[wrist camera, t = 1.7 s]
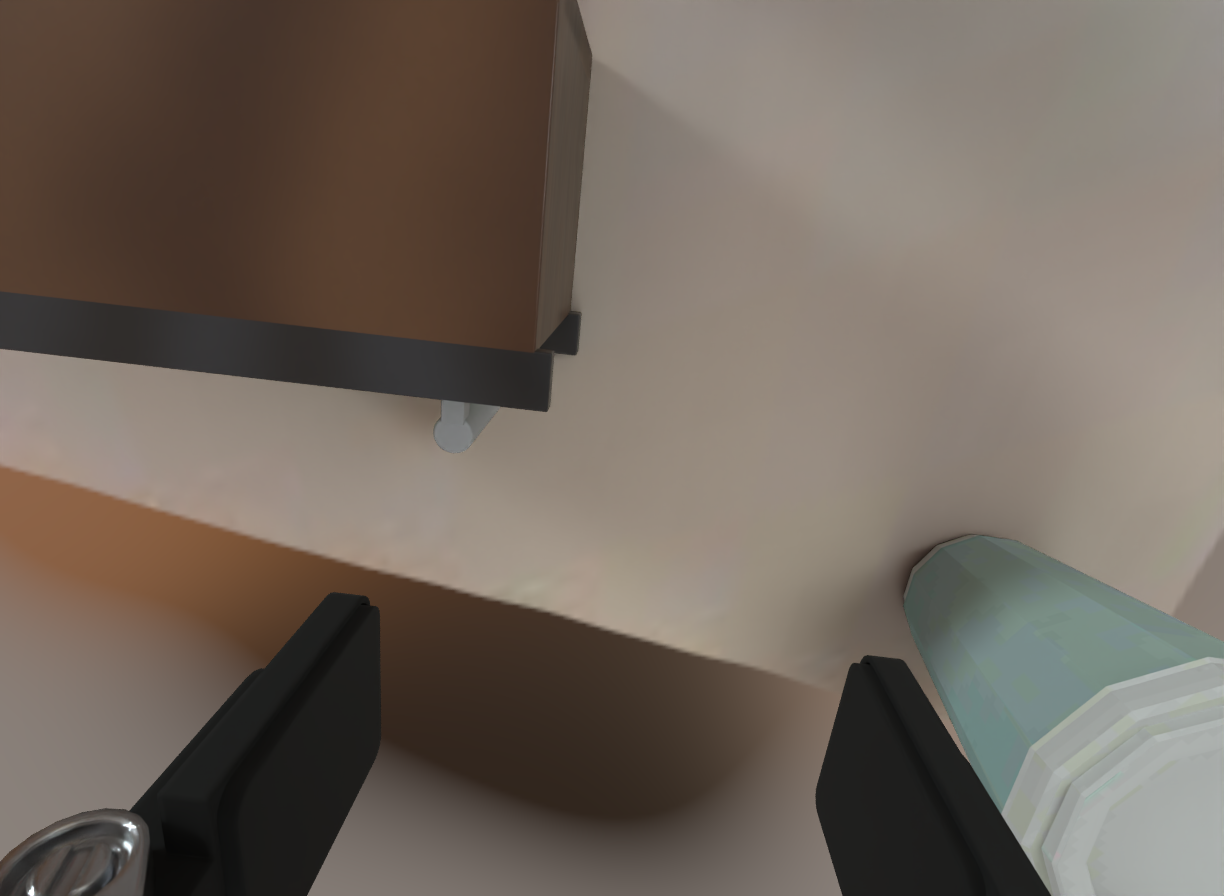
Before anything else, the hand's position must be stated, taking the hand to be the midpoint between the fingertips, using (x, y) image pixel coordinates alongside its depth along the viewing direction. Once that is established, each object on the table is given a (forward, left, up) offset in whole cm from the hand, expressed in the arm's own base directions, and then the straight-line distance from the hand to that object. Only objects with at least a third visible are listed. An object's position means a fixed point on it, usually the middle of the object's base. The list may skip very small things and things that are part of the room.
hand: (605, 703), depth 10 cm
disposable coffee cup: (-18, +7, -20) cm, 28 cm away
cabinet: (+15, -8, -20) cm, 26 cm away
